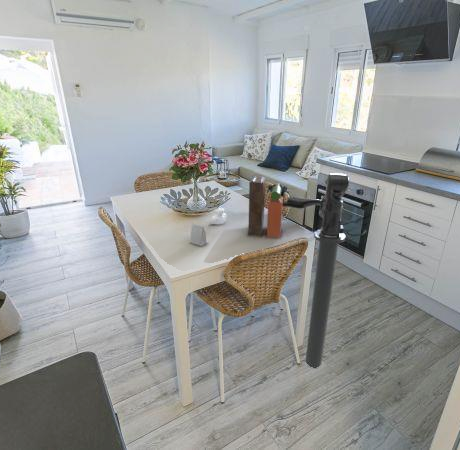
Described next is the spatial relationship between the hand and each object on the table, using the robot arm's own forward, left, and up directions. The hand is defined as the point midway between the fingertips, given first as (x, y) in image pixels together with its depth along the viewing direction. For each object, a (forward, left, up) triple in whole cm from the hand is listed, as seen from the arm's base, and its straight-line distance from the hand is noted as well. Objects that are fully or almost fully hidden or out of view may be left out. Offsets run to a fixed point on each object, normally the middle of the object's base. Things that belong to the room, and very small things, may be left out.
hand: (277, 185), depth 171 cm
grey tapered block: (+37, +28, -25) cm, 53 cm away
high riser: (+10, +8, -25) cm, 28 cm away
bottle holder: (0, +8, -25) cm, 26 cm away
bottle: (0, +4, -4) cm, 6 cm away
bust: (+33, 0, -25) cm, 42 cm away
